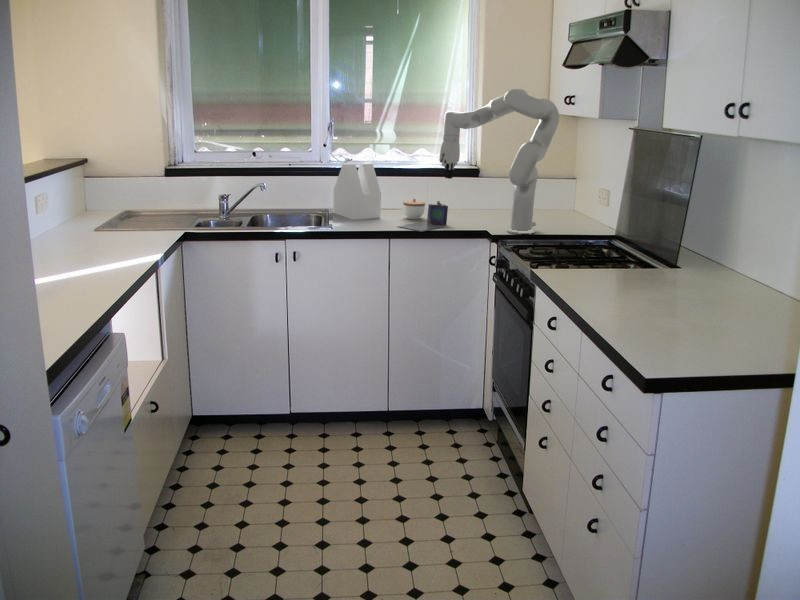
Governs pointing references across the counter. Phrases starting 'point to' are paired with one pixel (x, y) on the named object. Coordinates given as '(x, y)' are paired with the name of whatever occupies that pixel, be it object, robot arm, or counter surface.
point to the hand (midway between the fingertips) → (448, 178)
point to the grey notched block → (357, 192)
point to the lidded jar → (413, 209)
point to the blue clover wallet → (437, 213)
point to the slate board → (420, 226)
